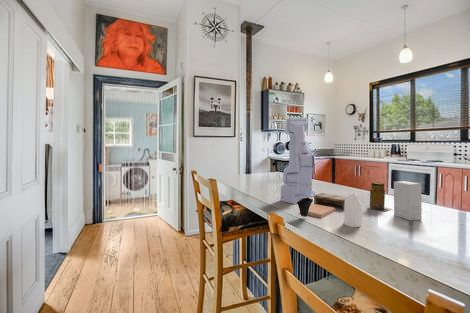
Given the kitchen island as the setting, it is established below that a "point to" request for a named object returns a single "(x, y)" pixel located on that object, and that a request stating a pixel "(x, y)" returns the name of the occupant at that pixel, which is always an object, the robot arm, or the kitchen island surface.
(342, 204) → the shelf
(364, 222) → the kitchen island surface
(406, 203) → the skincare box
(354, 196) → the white pointed crystal
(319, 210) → the tile
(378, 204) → the condiment
